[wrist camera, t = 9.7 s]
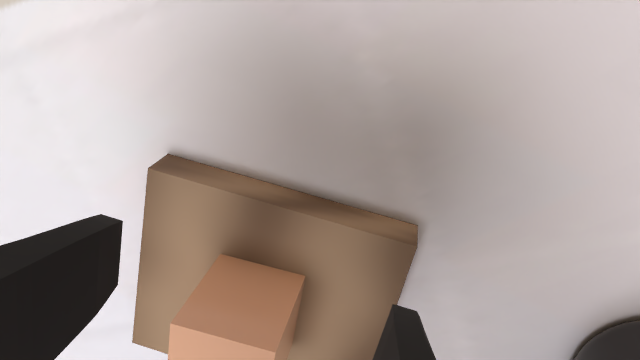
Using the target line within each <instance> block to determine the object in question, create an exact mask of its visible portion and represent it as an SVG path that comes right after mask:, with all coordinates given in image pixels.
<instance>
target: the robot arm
mask: <svg viewBox="0 0 640 360" xmlns="http://www.w3.org/2000/svg"><path fill="white" fill-rule="evenodd" d="M122 224H123V221H121V220H118V219H115V218H111V217H108V216H105V215H102V214H100V215H96V216H93V217H89V218H86V219H83V220H79V221H76V222H73V223H70V224H67V225H64V226H61V227H58V228H55V229H52V230H49V231H46V232H43V233H40V234H37V235H34V236H31V237H28V238H25V239H21V240H18V241H14V242H11V243H8V244H4V245H1V246H0V360H54V359H55V358H56V357H57V356H58V355H59V354H60V353H61V352H62V351H63V350H64V349H65V348H66V347H67V346H68V345H69V344H70V343H71V342H72V340H73V339H74V338H75V337H76V336H77V335H78V334H79V333H80V332H81V331H82V330H83V329H84V328H85V327H86V326H87V324H88V323H89V322H90V321H91V320H92V319H93V318H94V317H95V316H96V314H97V313H98V312H99V310H100V309H101V308H102V306H103V305H104V304H105V302H106V301H107V299H108V298H109V297H110V295H111V294H112V292H113V291H114V289H115V288H116V287H117V285H118V276H119V263H120V250H121V237H122ZM373 360H436V358H435V356H434V353H433V351H432V349H431V346H430V344H429V341H428V338H427V336H426V333H425V331H424V328H423V325H422V322H421V319H420V316H419V315H418V313H417V311H414V310H411V309H408V308H404V307H401V306H398V305H395V304H392V307H391V310H390V313H389V316H388V318H387V321H386V324H385V327H384V329H383V332H382V335H381V338H380V340H379V343H378V346H377V349H376V351H375V354H374V357H373Z"/></svg>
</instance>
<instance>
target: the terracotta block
mask: <svg viewBox="0 0 640 360" xmlns="http://www.w3.org/2000/svg"><path fill="white" fill-rule="evenodd" d="M304 281H305V276H304V275H300V274H296V273H292V272H288V271H285V270H281V269H277V268H273V267H269V266H265V265H261V264H258V263H254V262H250V261H246V260H242V259H238V258H235V257H231V256H227V255H223V254H220V255H219V256H218V258H217V259H216V261H215V262H214V263H213V265H212V266H211V268H210V269H209V270H208V272H207V273H206V274H205V276H204V277H203V279H202V280H201V281H200V283H199V284H198V286H197V287H196V288H195V290H194V291H193V293H192V294H191V295H190V297H189V298H188V299H187V301H186V302H185V304H184V305H183V306H182V308H181V309H180V311H179V312H178V313H177V315H176V316H175V318H174V319H173V320H172V322H171V323H170V335H169V350H168V360H287V358H288V355H289V352H290V349H291V347H292V343H293V338H294V333H295V327H296V322H297V317H298V312H299V307H300V302H301V297H302V291H303V286H304Z"/></svg>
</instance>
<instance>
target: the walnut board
mask: <svg viewBox="0 0 640 360" xmlns="http://www.w3.org/2000/svg"><path fill="white" fill-rule="evenodd" d="M417 234H418V226H417V225H414V224H410V223H407V222H403V221H400V220H396V219H393V218H389V217H386V216H382V215H379V214H375V213H372V212H369V211H365V210H362V209H358V208H355V207H351V206H348V205H344V204H341V203H337V202H334V201H330V200H327V199H323V198H320V197H316V196H313V195H309V194H306V193H302V192H299V191H295V190H292V189H288V188H285V187H281V186H278V185H275V184H271V183H268V182H264V181H261V180H257V179H254V178H250V177H247V176H243V175H240V174H236V173H233V172H229V171H226V170H222V169H219V168H215V167H212V166H208V165H205V164H201V163H198V162H194V161H191V160H187V159H184V158H181V157H177V156H174V155H170V154H167V155H166V156H165V157H163V158H162V159H160V160H159V161H158V162H156V163H155V164H153V165H152V166H151V167H149V168H148V174H147V185H146V196H145V207H144V219H143V230H142V241H141V252H140V263H139V274H138V285H137V296H136V307H135V318H134V329H133V340H132V343H135V344H138V345H141V346H145V347H148V348H151V349H154V350H157V351H160V352H163V353H166V354H168V350H169V335H170V323H171V322H172V320H173V319H174V318H175V316H176V315H177V313H178V312H179V311H180V309H181V308H182V306H183V305H184V304H185V302H186V301H187V299H188V298H189V297H190V295H191V294H192V293H193V291H194V290H195V288H196V287H197V286H198V284H199V283H200V281H201V280H202V279H203V277H204V276H205V274H206V273H207V272H208V270H209V269H210V268H211V266H212V265H213V263H214V262H215V261H216V259H217V258H218V256H219V255H220V254H223V255H227V256H231V257H235V258H238V259H242V260H246V261H250V262H254V263H258V264H261V265H265V266H269V267H273V268H277V269H281V270H285V271H288V272H292V273H296V274H300V275H304V276H305V281H304V286H303V291H302V297H301V302H300V307H299V312H298V317H297V322H296V327H295V333H294V338H293V343H292V347H291V349H290V352H289V355H288V358H287V360H373V357H374V354H375V351H376V349H377V346H378V343H379V340H380V338H381V335H382V332H383V329H384V327H385V324H386V321H387V318H388V316H389V313H390V310H391V307H392V304H395V305H397V302H398V300H399V297H400V294H401V291H402V288H403V285H404V283H405V280H406V277H407V274H408V271H409V269H410V266H411V263H412V260H413V257H414V255H415V252H416V249H417Z"/></svg>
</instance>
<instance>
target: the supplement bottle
mask: <svg viewBox="0 0 640 360" xmlns="http://www.w3.org/2000/svg"><path fill="white" fill-rule="evenodd" d="M574 360H640V320H637V321H631V322H627V323H623V324H619V325H616V326H614V327H611V328H609V329H607V330H605V331H603V332H601V333H599V334H598V335H596V336H595V337H593V338H592V339H591V340H590V341H589V342H587V343H586V344H585V345H584V346H583V348H582V349H581V350H580V351H579V353H578V354H577V356H576V358H575V359H574Z"/></svg>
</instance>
